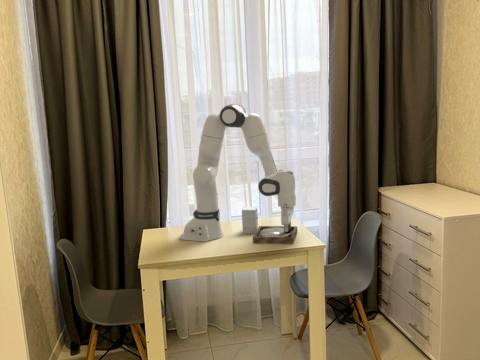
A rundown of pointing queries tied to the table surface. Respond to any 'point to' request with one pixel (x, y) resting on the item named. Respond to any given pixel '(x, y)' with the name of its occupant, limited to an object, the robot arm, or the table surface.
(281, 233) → the dial
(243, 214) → the supplement box
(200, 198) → the robot arm
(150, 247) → the table surface
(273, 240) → the dial housing
